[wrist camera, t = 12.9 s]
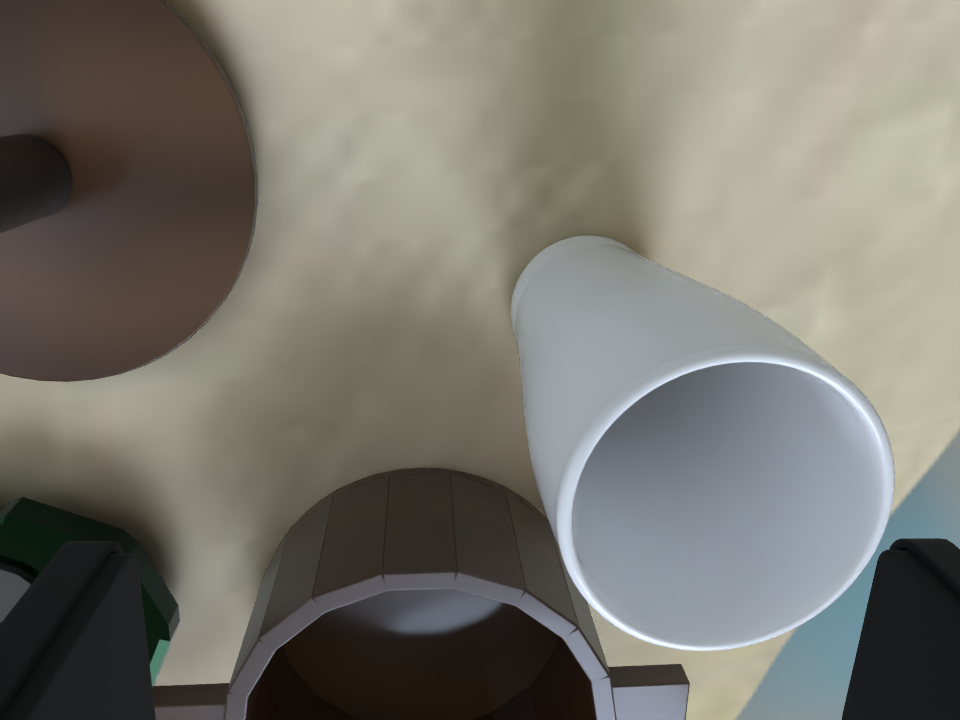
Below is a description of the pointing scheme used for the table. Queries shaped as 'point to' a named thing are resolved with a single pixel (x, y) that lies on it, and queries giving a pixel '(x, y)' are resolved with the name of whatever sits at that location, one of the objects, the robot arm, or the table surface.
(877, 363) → the table surface
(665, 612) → the drinking glass
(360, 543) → the two-handled cooking pot
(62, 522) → the four-lobed dark green device
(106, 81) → the lid
